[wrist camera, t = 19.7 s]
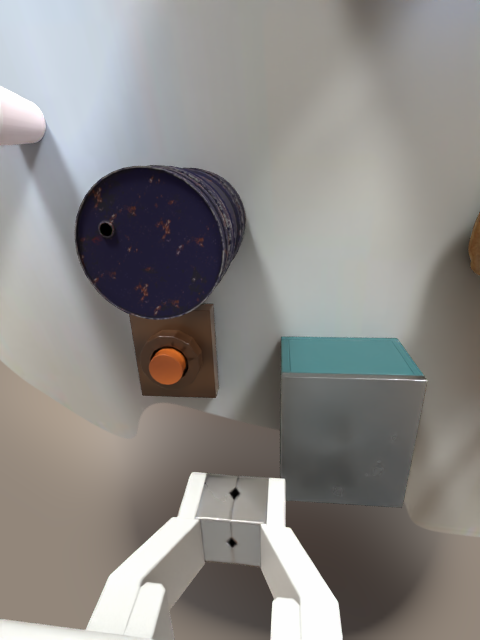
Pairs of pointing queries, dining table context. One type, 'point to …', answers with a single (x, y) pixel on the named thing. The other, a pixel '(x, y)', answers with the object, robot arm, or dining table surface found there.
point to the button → (167, 366)
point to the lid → (349, 436)
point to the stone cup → (475, 247)
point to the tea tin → (345, 357)
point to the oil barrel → (158, 237)
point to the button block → (191, 340)
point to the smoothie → (19, 120)
